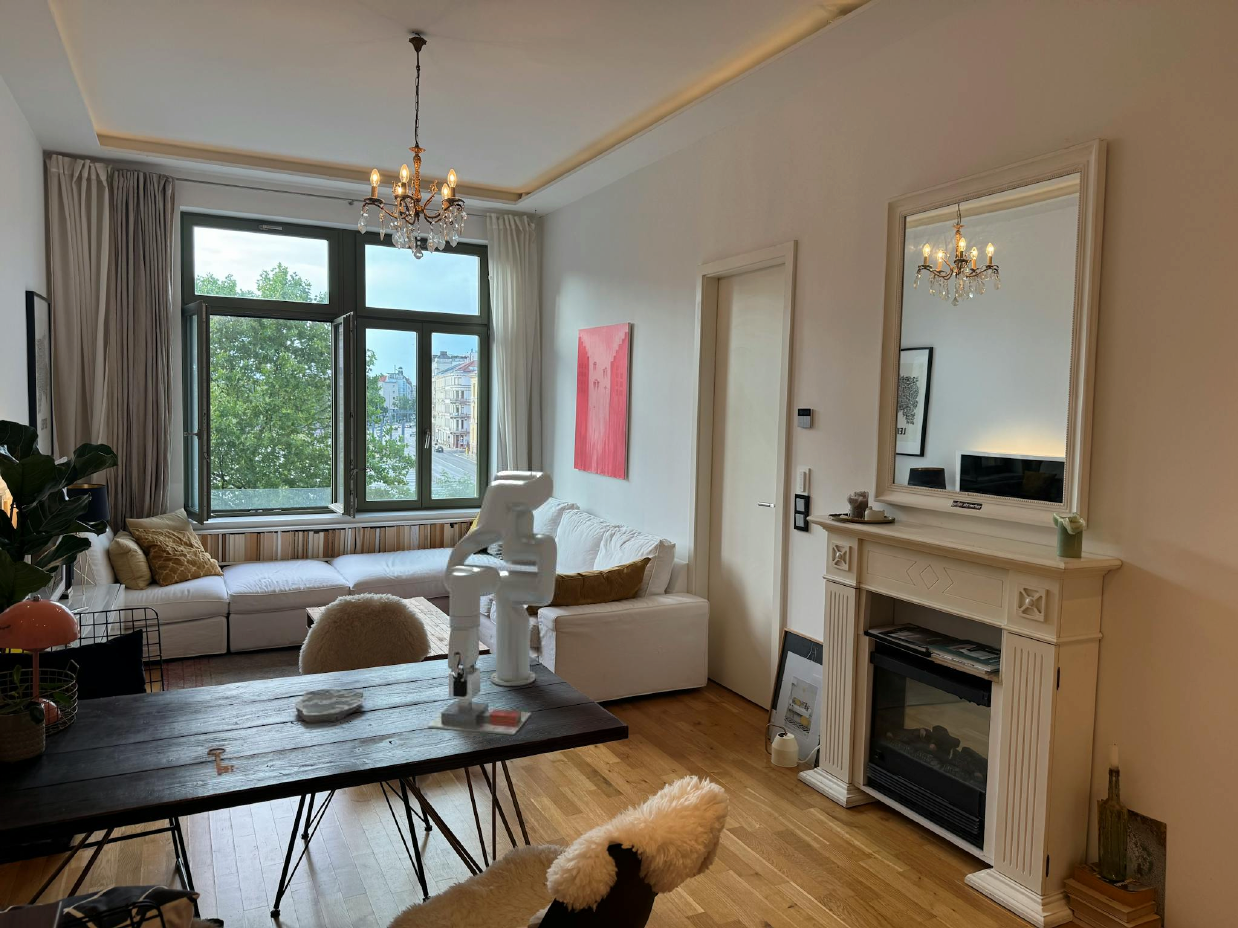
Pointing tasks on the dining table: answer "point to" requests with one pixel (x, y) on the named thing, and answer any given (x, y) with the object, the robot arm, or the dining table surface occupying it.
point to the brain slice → (328, 704)
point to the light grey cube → (467, 683)
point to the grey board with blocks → (479, 718)
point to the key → (217, 757)
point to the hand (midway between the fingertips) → (464, 691)
